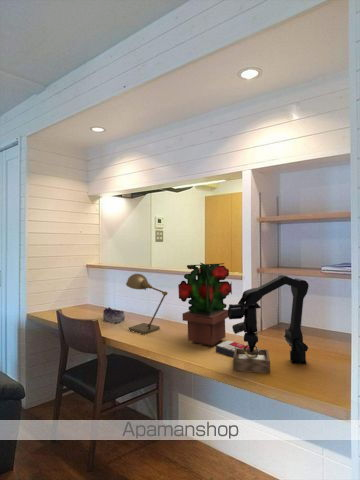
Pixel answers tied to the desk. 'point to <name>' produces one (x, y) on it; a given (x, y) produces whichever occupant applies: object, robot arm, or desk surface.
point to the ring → (247, 354)
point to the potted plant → (205, 303)
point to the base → (251, 360)
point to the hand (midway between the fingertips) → (251, 350)
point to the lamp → (141, 283)
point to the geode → (113, 315)
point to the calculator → (229, 347)
